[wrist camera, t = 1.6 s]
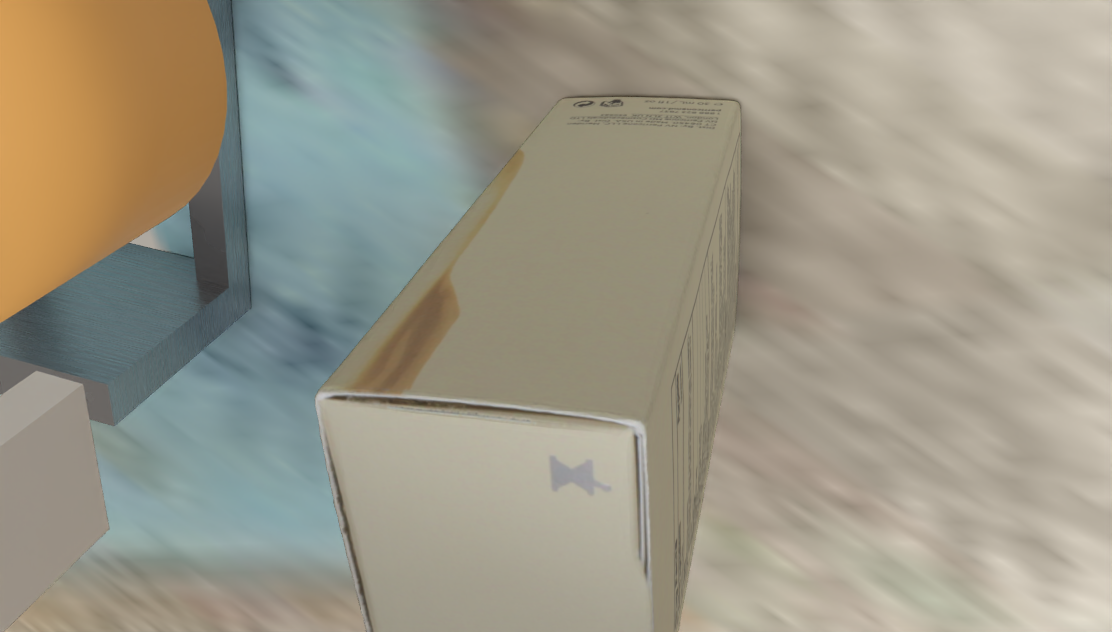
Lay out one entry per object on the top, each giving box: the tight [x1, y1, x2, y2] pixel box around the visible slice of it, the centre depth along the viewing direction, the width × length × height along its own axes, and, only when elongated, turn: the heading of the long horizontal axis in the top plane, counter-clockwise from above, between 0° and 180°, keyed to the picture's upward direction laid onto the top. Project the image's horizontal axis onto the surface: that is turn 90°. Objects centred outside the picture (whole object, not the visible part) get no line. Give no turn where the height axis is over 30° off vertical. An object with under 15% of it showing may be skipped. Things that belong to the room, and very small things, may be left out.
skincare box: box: [315, 97, 741, 632], centre depth 17 cm, size 6×4×12 cm
